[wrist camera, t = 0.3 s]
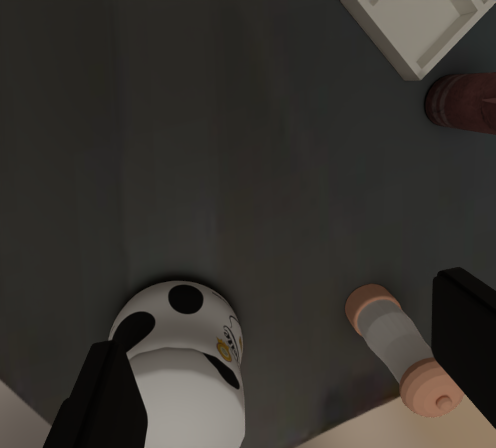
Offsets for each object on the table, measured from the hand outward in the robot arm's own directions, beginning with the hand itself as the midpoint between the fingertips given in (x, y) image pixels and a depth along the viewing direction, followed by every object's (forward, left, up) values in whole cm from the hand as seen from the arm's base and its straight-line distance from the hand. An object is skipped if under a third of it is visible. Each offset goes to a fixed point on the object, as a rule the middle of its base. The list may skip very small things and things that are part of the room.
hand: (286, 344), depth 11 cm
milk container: (+12, -23, -37) cm, 45 cm away
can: (+17, +23, -37) cm, 47 cm away
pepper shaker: (+32, -3, -37) cm, 49 cm away
